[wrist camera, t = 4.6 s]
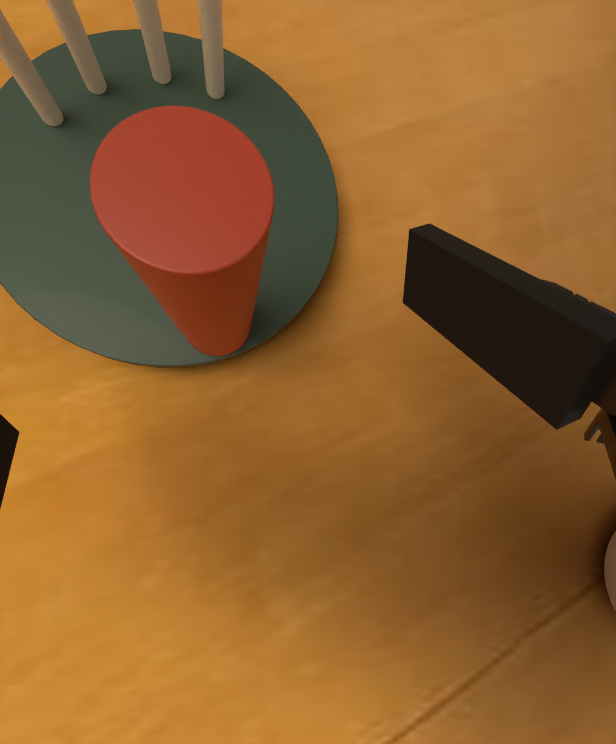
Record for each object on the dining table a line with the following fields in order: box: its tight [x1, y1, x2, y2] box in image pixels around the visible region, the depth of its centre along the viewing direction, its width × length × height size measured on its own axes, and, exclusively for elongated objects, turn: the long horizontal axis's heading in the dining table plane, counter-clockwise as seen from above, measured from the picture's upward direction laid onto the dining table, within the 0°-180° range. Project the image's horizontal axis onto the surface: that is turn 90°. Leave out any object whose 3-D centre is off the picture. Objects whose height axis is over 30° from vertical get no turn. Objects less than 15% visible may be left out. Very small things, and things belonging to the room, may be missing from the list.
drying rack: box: [0, 0, 338, 368], centre depth 13 cm, size 17×17×13 cm
